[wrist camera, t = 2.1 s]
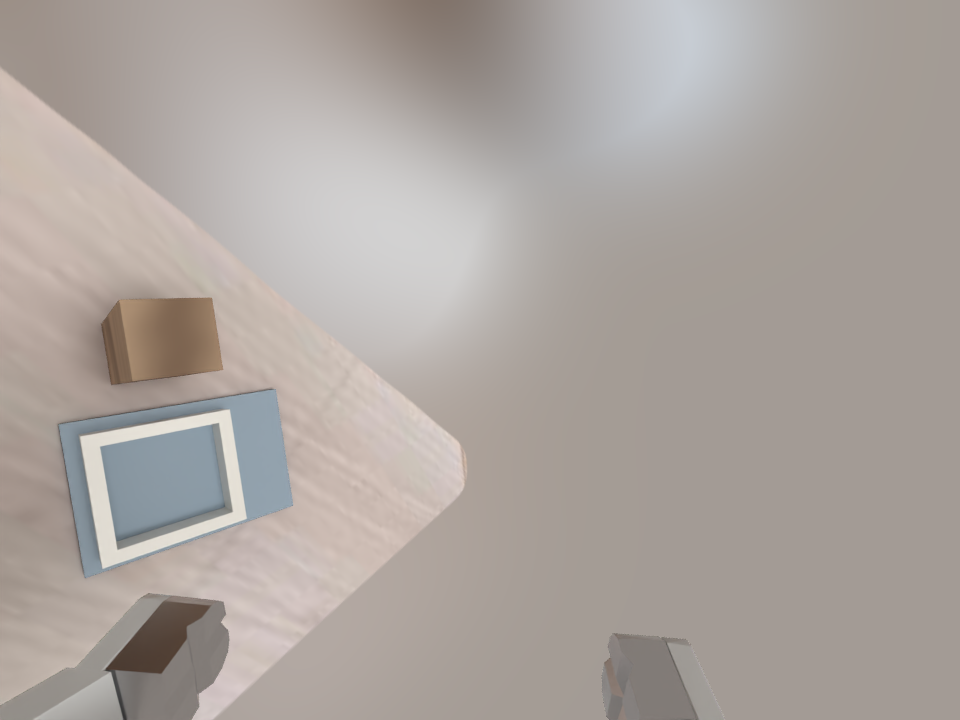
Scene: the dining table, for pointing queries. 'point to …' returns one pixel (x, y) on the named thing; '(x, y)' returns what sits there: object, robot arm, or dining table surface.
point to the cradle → (173, 475)
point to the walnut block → (161, 339)
